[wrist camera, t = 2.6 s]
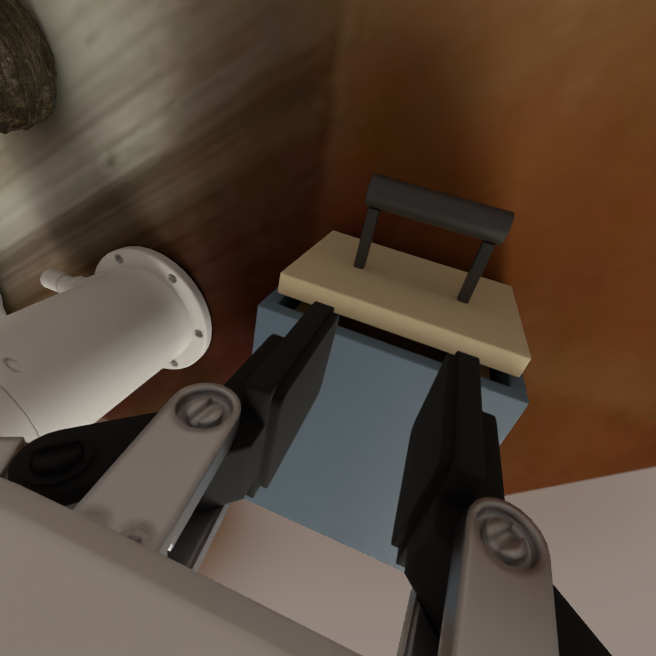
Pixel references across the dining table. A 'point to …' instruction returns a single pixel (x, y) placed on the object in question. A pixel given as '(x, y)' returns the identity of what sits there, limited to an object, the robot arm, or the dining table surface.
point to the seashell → (23, 70)
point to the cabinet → (361, 434)
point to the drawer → (417, 282)
